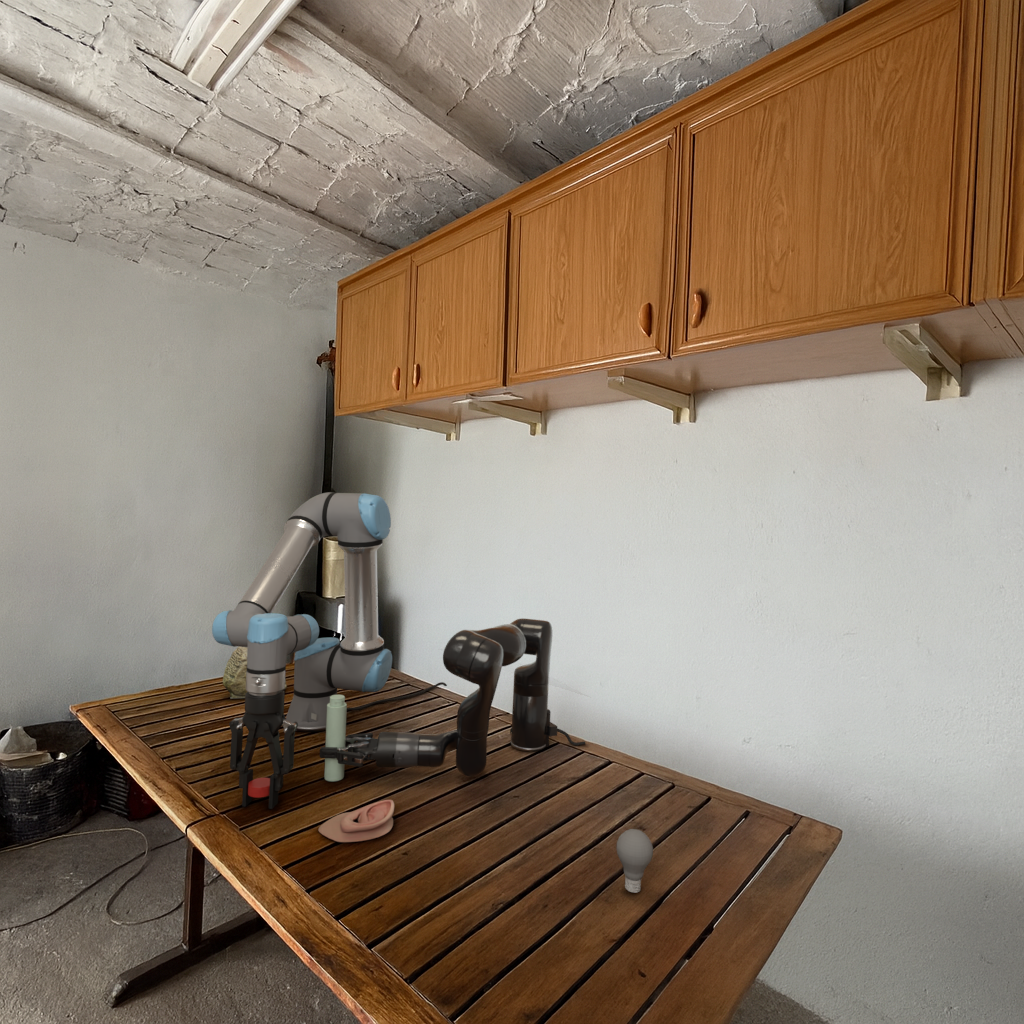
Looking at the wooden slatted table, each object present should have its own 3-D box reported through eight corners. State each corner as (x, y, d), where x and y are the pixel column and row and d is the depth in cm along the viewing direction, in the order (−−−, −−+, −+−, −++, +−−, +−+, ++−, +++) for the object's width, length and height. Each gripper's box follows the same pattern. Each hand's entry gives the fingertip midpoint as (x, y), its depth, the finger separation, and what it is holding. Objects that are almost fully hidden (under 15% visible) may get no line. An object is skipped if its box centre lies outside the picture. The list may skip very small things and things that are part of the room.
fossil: (218, 695, 195) (220, 647, 195) (278, 685, 208) (279, 640, 207) (228, 703, 189) (230, 653, 188) (289, 692, 201) (290, 645, 201)
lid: (248, 788, 131) (249, 778, 131) (273, 785, 132) (273, 776, 132) (247, 798, 126) (247, 788, 126) (272, 796, 128) (273, 786, 128)
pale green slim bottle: (345, 779, 142) (349, 698, 142) (326, 782, 140) (329, 700, 140) (341, 771, 146) (344, 693, 146) (322, 774, 144) (325, 694, 144)
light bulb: (610, 879, 108) (613, 822, 108) (644, 879, 109) (647, 822, 109) (619, 902, 102) (622, 840, 102) (655, 901, 103) (658, 840, 103)
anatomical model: (310, 816, 117) (339, 789, 129) (309, 837, 117) (338, 808, 129) (377, 827, 115) (401, 798, 126) (376, 848, 115) (400, 818, 126)
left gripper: (213, 693, 126) (207, 809, 126) (300, 699, 125) (295, 817, 125) (232, 682, 133) (227, 793, 133) (315, 688, 132) (309, 799, 132)
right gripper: (403, 722, 151) (330, 720, 150) (395, 745, 137) (315, 743, 136) (402, 753, 151) (329, 751, 150) (394, 780, 137) (313, 778, 136)
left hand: (260, 804), depth 129 cm, fingers closed on lid, 5 cm apart
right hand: (323, 748), depth 143 cm, fingers closed on pale green slim bottle, 4 cm apart
